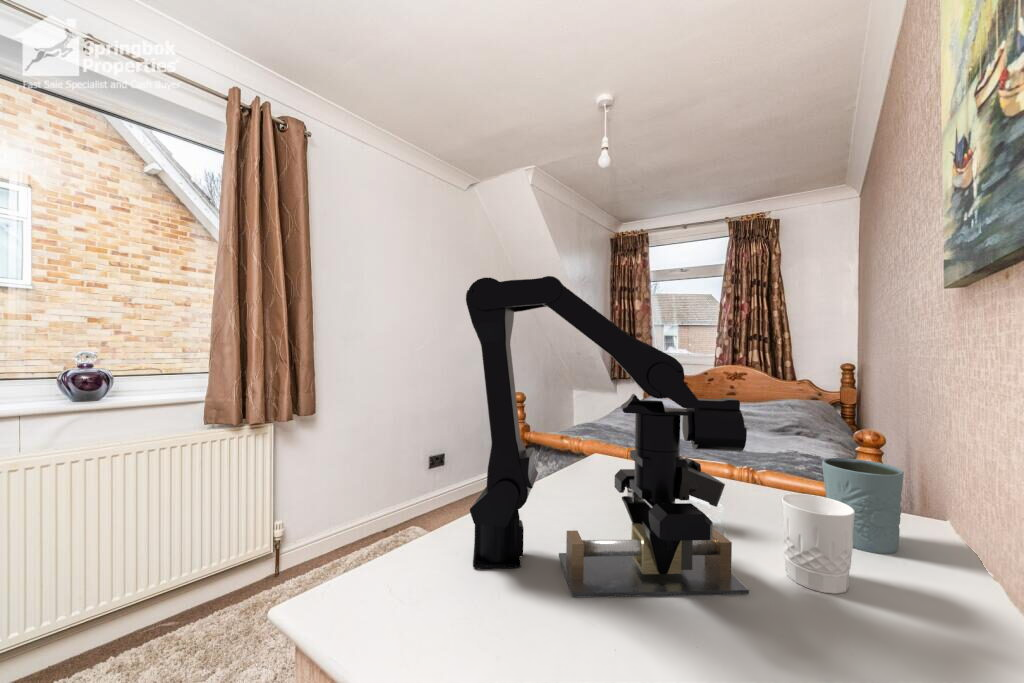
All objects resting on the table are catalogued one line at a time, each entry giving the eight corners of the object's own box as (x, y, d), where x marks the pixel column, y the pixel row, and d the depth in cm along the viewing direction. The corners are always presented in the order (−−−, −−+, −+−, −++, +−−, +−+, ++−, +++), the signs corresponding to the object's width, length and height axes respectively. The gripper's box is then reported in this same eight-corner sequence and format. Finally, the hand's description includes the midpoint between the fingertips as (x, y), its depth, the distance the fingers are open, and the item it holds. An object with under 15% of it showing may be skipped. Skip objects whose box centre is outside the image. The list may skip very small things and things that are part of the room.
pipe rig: (572, 597, 52) (572, 555, 52) (558, 556, 62) (559, 521, 62) (748, 594, 53) (749, 553, 53) (707, 554, 63) (708, 520, 63)
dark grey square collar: (680, 570, 56) (680, 539, 56) (667, 555, 60) (667, 526, 60) (692, 569, 56) (692, 538, 56) (678, 554, 60) (679, 526, 60)
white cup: (821, 601, 52) (822, 518, 52) (766, 568, 60) (767, 496, 60) (870, 592, 54) (870, 512, 54) (811, 561, 62) (812, 491, 62)
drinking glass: (895, 563, 62) (896, 479, 62) (812, 537, 69) (813, 463, 70) (908, 543, 68) (909, 466, 68) (831, 522, 76) (832, 453, 76)
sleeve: (643, 574, 55) (643, 538, 55) (631, 556, 60) (631, 523, 60) (681, 573, 56) (681, 537, 56) (666, 556, 60) (666, 523, 60)
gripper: (758, 467, 49) (756, 605, 49) (684, 432, 68) (682, 532, 68) (662, 466, 48) (660, 606, 48) (614, 432, 67) (612, 533, 67)
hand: (655, 563), depth 58 cm, fingers closed on sleeve, 5 cm apart
